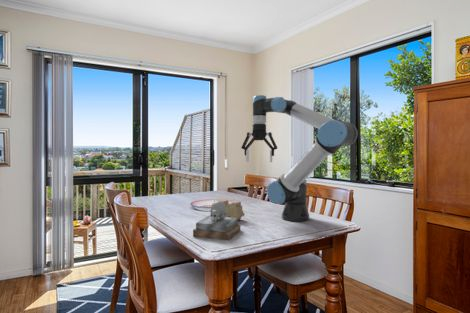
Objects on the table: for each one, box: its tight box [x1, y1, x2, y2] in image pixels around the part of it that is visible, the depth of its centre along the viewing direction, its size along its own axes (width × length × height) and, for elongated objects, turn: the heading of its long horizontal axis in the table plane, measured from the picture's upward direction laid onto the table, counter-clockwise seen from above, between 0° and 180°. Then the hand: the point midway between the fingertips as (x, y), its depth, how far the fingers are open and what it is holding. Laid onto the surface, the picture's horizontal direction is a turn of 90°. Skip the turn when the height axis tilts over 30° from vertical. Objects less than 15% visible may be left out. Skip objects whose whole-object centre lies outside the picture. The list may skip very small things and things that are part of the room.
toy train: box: [213, 199, 246, 221], centre depth 173 cm, size 6×17×10 cm, turn 57°
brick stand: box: [192, 215, 241, 241], centre depth 146 cm, size 17×17×6 cm
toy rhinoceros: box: [209, 200, 227, 222], centre depth 144 cm, size 7×12×8 cm, turn 160°
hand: (259, 161), depth 175 cm, fingers open, 13 cm apart
